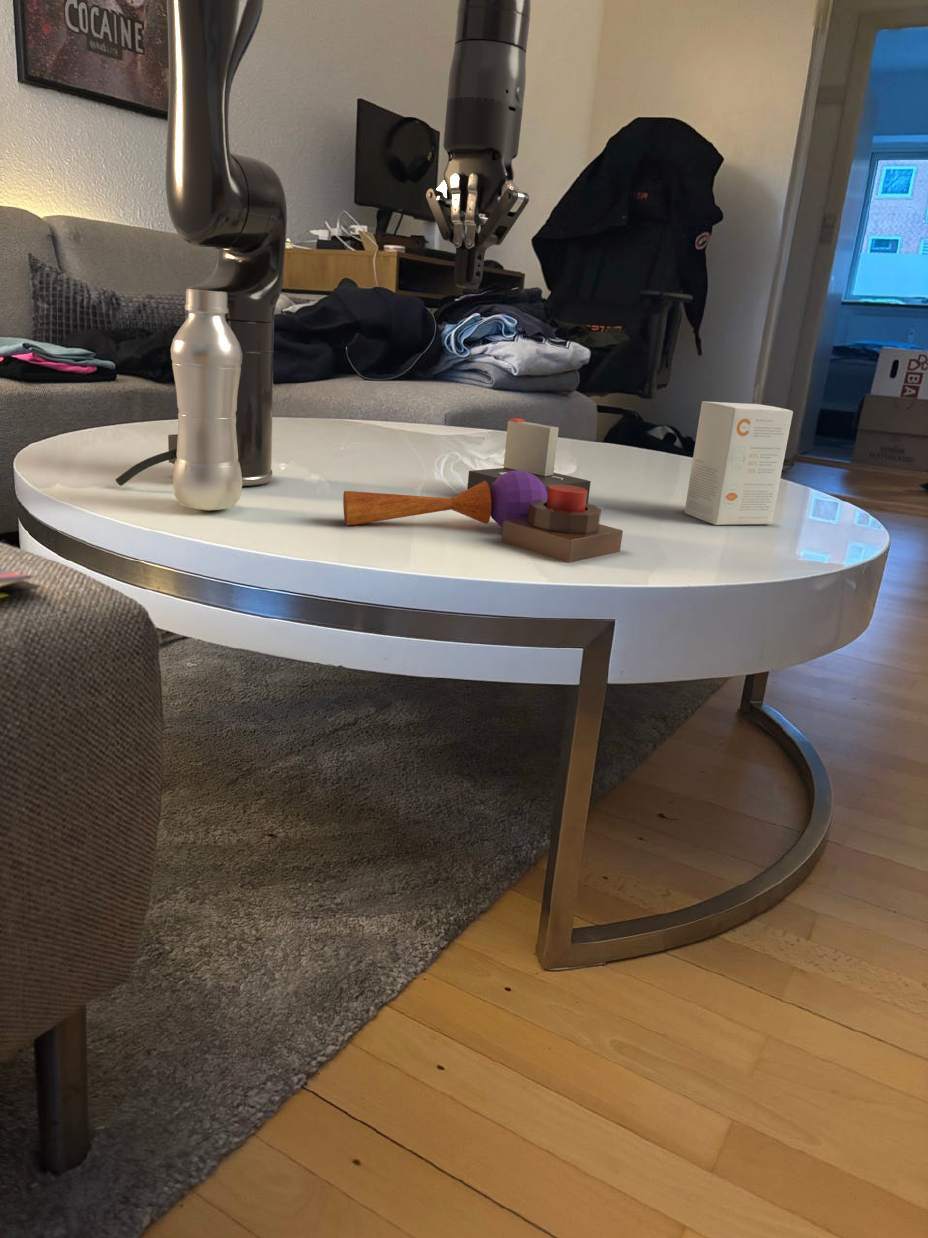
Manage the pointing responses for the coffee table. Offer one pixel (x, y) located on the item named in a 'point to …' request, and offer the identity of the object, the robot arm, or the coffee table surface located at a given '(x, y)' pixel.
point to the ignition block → (562, 533)
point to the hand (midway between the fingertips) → (467, 287)
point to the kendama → (451, 501)
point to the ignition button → (566, 498)
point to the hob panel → (555, 479)
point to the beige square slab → (530, 447)
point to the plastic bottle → (206, 405)
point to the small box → (737, 463)
